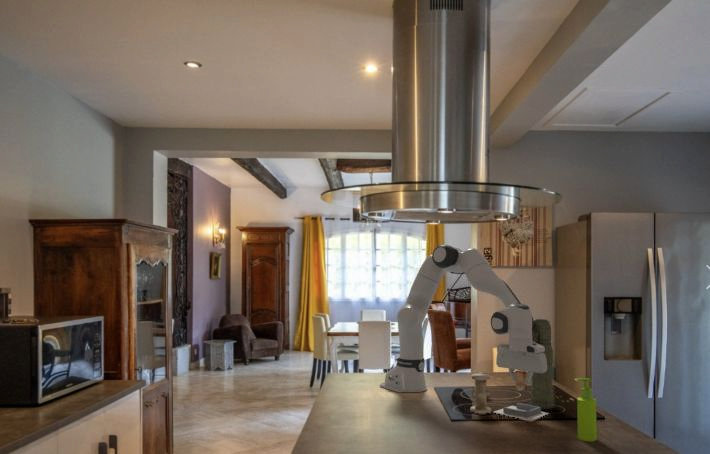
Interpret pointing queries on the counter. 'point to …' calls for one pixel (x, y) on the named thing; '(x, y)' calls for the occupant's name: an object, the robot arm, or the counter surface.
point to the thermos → (543, 381)
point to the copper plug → (520, 380)
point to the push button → (483, 373)
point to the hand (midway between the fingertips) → (521, 381)
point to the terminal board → (522, 412)
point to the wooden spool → (480, 394)
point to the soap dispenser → (586, 413)
